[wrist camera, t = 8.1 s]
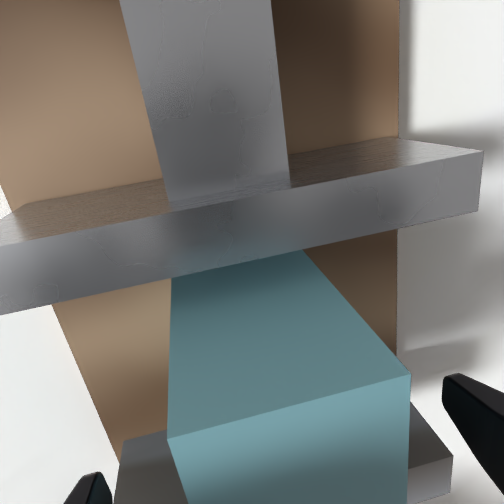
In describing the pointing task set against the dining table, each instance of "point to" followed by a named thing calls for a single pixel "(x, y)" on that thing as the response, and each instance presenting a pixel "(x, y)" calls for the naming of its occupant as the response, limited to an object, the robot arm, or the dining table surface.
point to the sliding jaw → (221, 171)
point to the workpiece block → (282, 390)
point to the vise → (148, 168)
